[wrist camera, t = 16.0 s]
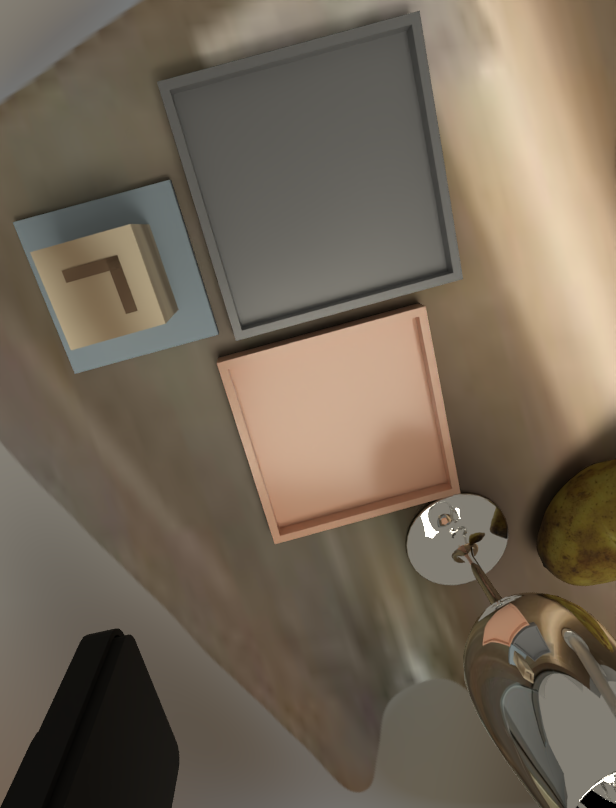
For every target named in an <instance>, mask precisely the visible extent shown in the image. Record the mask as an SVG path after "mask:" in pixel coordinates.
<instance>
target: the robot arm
mask: <svg viewBox="0 0 616 808" xmlns="http://www.w3.org/2000/svg"><path fill="white" fill-rule="evenodd" d="M178 770H179V751H178V745H177V742H176V740H175V737H174V735H173V732H172V730H171V727H170V725H169V722H168V720H167V718H166V715H165V713H164V710H163V708H162V705H161V703H160V700H159V698H158V696H157V693H156V690H155V688H154V686H153V683H152V681H151V678H150V676H149V673H148V671H147V668H146V666H145V664H144V661H143V658H142V656H141V654H140V651H139V649H138V646H137V644H136V641H135V639H134V638H133V636H132V635H124V634H123V632H122V631H121V630H120V629H112V630H107V631H103V632H98V633H93V634H89V635H86V636H84V637H83V639H82V640H81V642H80V644H79V646H78V648H77V650H76V652H75V655H74V657H73V659H72V661H71V663H70V665H69V667H68V669H67V672H66V674H65V676H64V678H63V680H62V682H61V684H60V687H59V689H58V691H57V693H56V695H55V698H54V699H53V702H52V704H51V706H50V708H49V710H48V713H47V714H46V717H45V719H44V721H43V723H42V725H41V727H40V730H39V732H38V733H37V734H36V735H35V737H34V738H33V740H32V742H31V744H30V746H29V748H28V750H27V752H26V754H25V756H24V758H23V761H22V763H21V765H20V767H19V769H18V771H17V774H16V775H15V778H14V780H13V782H12V784H11V786H10V788H9V790H8V792H7V795H6V797H5V799H4V801H3V803H2V805H1V807H0V808H172V802H173V797H174V791H175V786H176V781H177V775H178Z"/></svg>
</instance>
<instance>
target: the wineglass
mask: <svg viewBox="0 0 616 808" xmlns="http://www.w3.org/2000/svg"><path fill="white" fill-rule="evenodd" d="M507 541H508V525H507V521H506V518H505V516H504V514H503V512H502V511H501V510H500V508H499V507H498V506H497V505H496V504H495V503H493V502H492V501H491V500H489V499H487V498H485V497H483V496H480V495H476V494H471V493H459V494H455V495H452V496H448V497H445V498H441V499H437V500H435V501H434V502H432V503H430V504H429V505H428V506H426V507H425V508H424V509H423V510H422V511H421V512H420V513H419V514H418V515H417V516H416V518H415V519H414V521H413V523H412V524H411V526H410V529H409V532H408V535H407V541H406V549H407V555H408V558H409V561H410V563H411V564H412V566H413V568H414V569H415V570H416V571H417V572H418V573H419V574H420V575H421V576H422V577H424V578H426V579H427V580H429V581H431V582H434V583H437V584H442V585H460V584H465V583H468V582H471V581H474V580H477V581H478V583H479V585H480V586H481V588H482V589H483V591H484V593H485V595H486V596H487V598H488V600H489V602H490V604H491V606H490V607H488V608H487V609H486V610H485V611H484V612H483V613H482V614H481V615H480V616H479V617H478V618H477V620H476V621H475V623H474V624H473V626H472V629H471V631H470V634H469V636H468V639H467V642H466V645H465V650H464V656H463V659H464V676H465V683H466V686H467V689H468V692H469V695H470V697H471V701H472V703H473V706H474V709H475V710H476V712H477V714H478V716H479V718H480V720H481V722H482V723H483V725H484V727H485V729H486V730H487V732H488V734H489V736H490V737H491V739H492V740H493V742H494V743H495V745H496V747H497V748H498V750H499V751H500V753H501V754H502V756H503V757H504V759H505V760H506V762H507V763H508V764H509V766H510V767H511V769H512V770H513V771H514V773H515V774H516V776H517V777H518V778H519V780H520V781H521V783H522V784H523V785H524V787H525V788H526V790H527V791H528V792H529V794H530V795H531V796H532V798H533V799H534V801H535V802H536V803H537V805H538V806H539V807H540V808H616V640H615V639H614V637H613V636H612V635H611V634H610V633H609V631H608V630H607V629H606V628H605V627H604V626H603V625H602V624H601V623H600V622H599V621H598V620H597V619H596V618H595V617H594V616H593V615H592V614H590V613H589V612H588V611H586V610H585V609H583V608H582V607H580V606H578V605H576V604H574V603H573V602H571V601H569V600H567V599H564V598H561V597H559V596H555V595H549V594H542V593H535V592H526V593H519V594H514V595H511V596H508V597H505V598H502V597H501V596H500V594H499V593H498V592H497V590H496V589H495V588H494V586H493V585H492V583H491V582H490V580H489V579H488V577H487V576H486V573H487V572H489V571H490V570H491V569H492V568H493V567H494V566H495V565H496V564H497V563H498V562H499V560H500V558H501V557H502V555H503V554H504V551H505V549H506V546H507Z"/></svg>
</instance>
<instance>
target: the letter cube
mask: <svg viewBox="0 0 616 808" xmlns="http://www.w3.org/2000/svg"><path fill="white" fill-rule="evenodd" d="M30 254H31V256H32V258H33V261H34V263H35V266H36V268H37V270H38V273H39V275H40V278H41V280H42V282H43V285H44V287H45V290H46V292H47V294H48V297H49V299H50V301H51V304H52V306H53V309H54V311H55V313H56V316H57V318H58V321H59V323H60V325H61V328H62V330H63V333H64V335H65V337H66V340H67V342H68V345H69V347H70V349H71V350H74V349H78V348H82V347H85V346H89V345H92V344H96V343H99V342H103V341H106V340H110V339H113V338H117V337H120V336H124V335H128V334H131V333H135V332H138V331H142V330H145V329H149V328H152V327H156V326H159V325H163V324H166V323H167V322H168V321H169V319H170V318H171V317H172V316H173V315H174V314H175V313H176V312H177V311H178V310H179V309H178V306H177V304H176V301H175V298H174V295H173V292H172V289H171V286H170V283H169V280H168V277H167V274H166V272H165V269H164V266H163V263H162V260H161V257H160V254H159V251H158V248H157V245H156V242H155V239H154V237H153V234H152V231H151V228H150V225H149V224H128V225H125V226H121V227H118V228H114V229H110V230H106V231H103V232H100V233H97V234H93V235H89V236H86V237H82V238H79V239H75V240H72V241H68V242H65V243H61V244H58V245H54V246H50V247H47V248H43V249H40V250H36V251H33V252H30Z"/></svg>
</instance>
